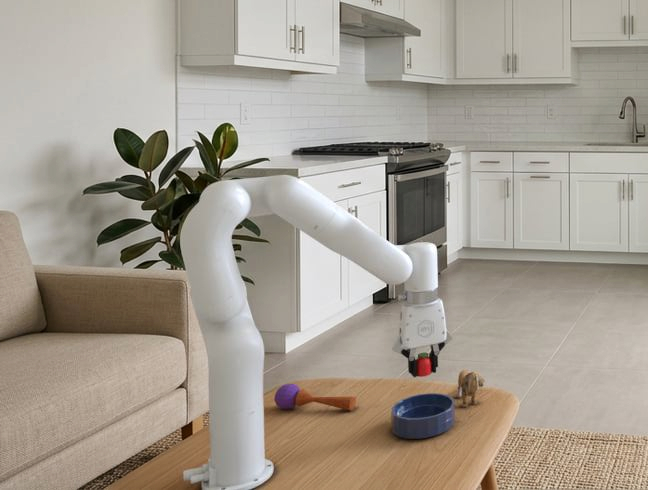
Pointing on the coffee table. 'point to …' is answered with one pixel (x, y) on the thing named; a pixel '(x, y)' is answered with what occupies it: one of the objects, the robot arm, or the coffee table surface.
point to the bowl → (423, 415)
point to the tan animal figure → (469, 385)
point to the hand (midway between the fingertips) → (423, 372)
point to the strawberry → (423, 365)
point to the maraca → (308, 398)
